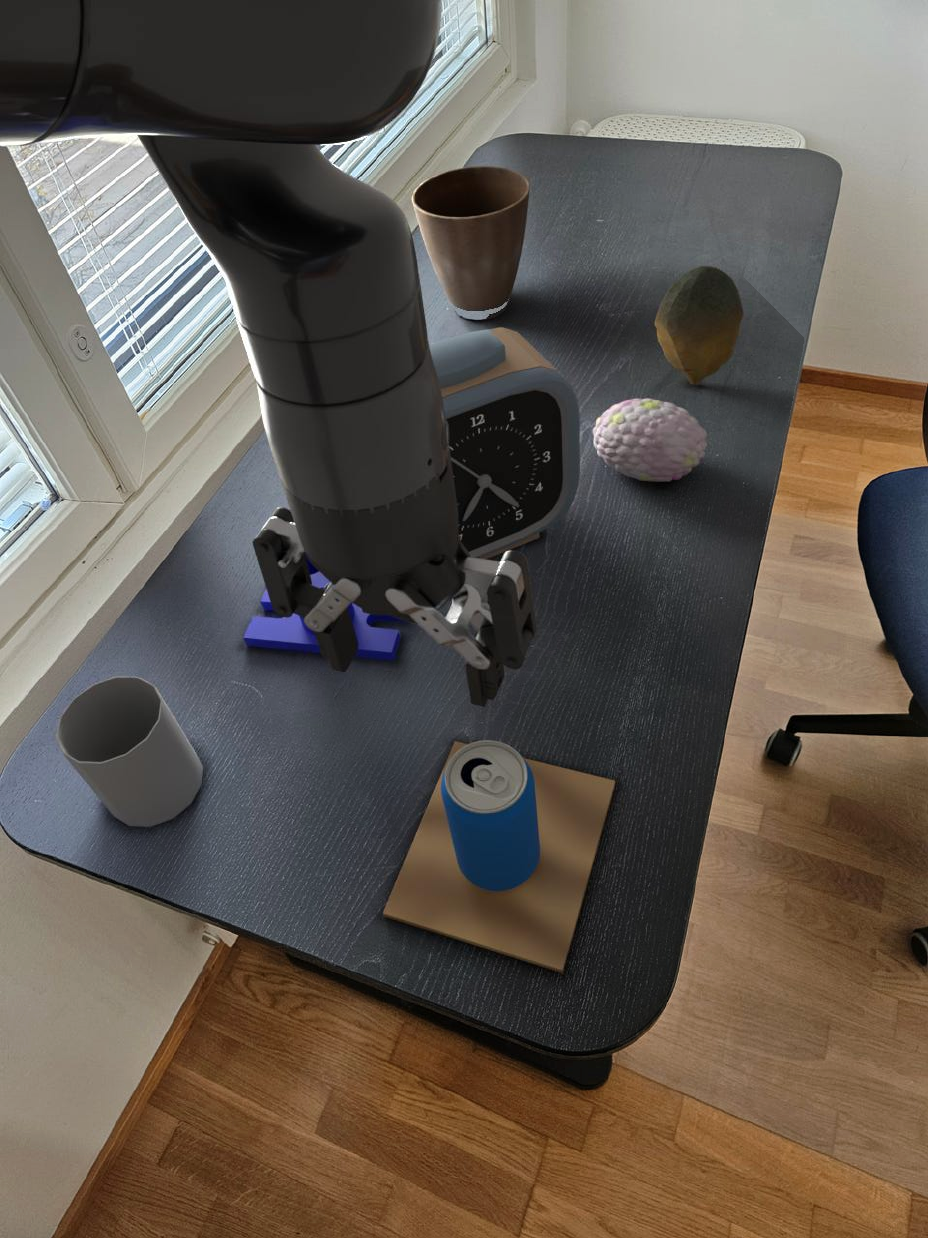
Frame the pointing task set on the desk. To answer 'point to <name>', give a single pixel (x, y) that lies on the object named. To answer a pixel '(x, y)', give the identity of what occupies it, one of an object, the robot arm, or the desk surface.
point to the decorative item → (649, 440)
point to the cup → (130, 750)
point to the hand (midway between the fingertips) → (414, 676)
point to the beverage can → (492, 815)
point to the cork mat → (535, 910)
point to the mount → (301, 638)
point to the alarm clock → (507, 438)
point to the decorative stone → (699, 322)
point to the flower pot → (474, 232)
